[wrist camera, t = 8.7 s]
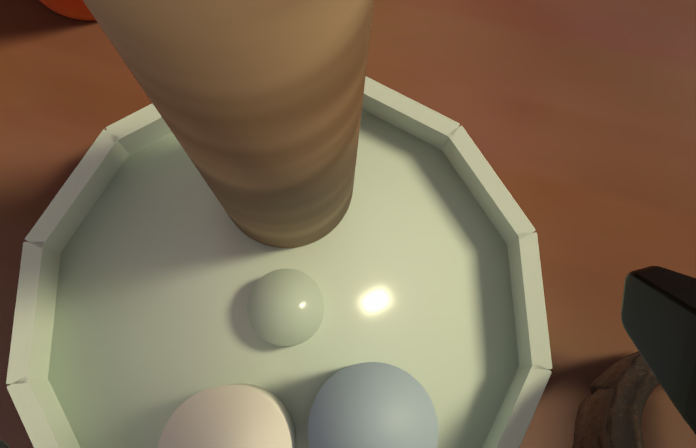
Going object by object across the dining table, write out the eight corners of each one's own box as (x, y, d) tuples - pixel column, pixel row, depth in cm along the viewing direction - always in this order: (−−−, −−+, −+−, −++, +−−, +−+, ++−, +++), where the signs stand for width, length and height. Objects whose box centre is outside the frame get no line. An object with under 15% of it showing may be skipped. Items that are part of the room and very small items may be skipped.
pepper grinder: (328, 266, 19) (318, 67, 6) (201, 223, 19) (-43, -48, 7) (370, 146, 20) (430, -220, 7) (249, 107, 20) (117, -309, 8)
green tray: (549, 566, 17) (578, 592, 15) (18, 589, 17) (-23, 617, 15) (500, 93, 21) (518, 66, 19) (71, 97, 21) (44, 69, 19)
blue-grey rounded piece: (426, 480, 17) (442, 498, 15) (310, 484, 17) (308, 503, 14) (420, 361, 18) (434, 360, 15) (310, 364, 18) (307, 363, 15)
